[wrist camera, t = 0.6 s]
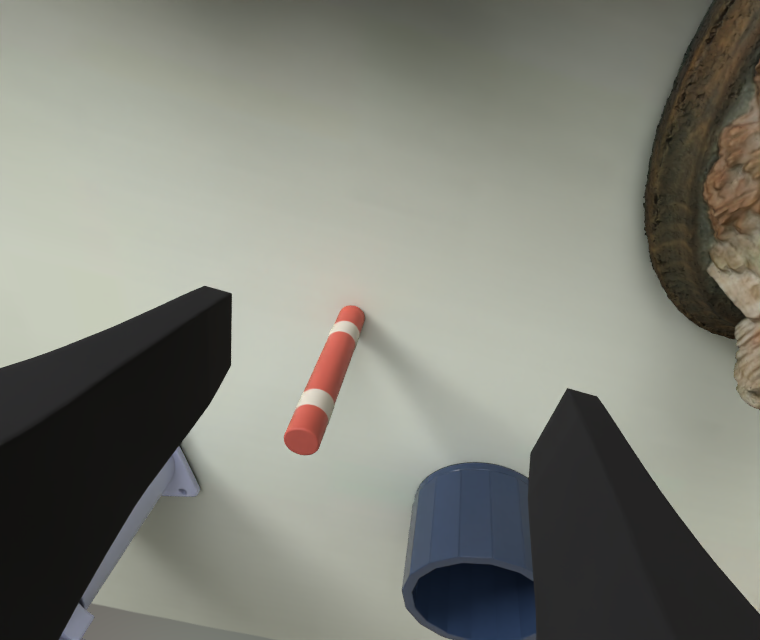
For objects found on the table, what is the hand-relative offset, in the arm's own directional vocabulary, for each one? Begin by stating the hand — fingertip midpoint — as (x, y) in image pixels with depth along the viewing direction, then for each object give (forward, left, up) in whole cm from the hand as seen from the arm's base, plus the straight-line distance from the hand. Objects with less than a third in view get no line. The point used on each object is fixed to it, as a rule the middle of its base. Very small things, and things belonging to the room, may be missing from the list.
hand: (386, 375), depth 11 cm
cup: (+1, -18, -11) cm, 21 cm away
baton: (-4, -5, -11) cm, 12 cm away
